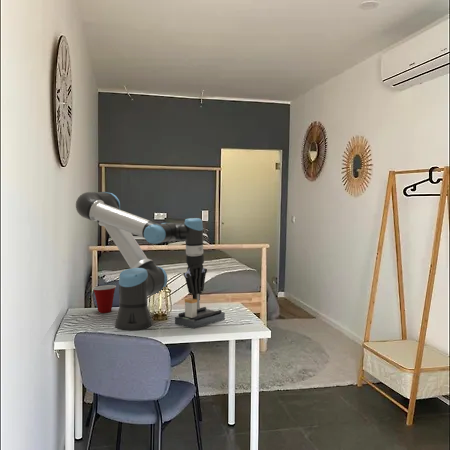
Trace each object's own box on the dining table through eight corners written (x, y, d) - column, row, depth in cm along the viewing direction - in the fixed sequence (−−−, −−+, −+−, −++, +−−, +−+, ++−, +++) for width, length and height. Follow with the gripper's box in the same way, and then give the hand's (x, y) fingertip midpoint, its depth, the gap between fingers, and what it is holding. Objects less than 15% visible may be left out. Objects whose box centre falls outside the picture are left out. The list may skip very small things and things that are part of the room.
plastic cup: (103, 308, 239) (102, 283, 238) (121, 310, 234) (120, 285, 234) (87, 312, 229) (87, 287, 229) (106, 315, 225) (105, 289, 224)
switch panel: (193, 328, 204) (193, 318, 204) (174, 324, 211) (174, 313, 211) (224, 319, 219) (224, 309, 219) (206, 315, 226) (206, 305, 226)
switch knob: (191, 318, 208) (192, 300, 207) (184, 316, 210) (184, 299, 210) (197, 316, 210) (197, 299, 210) (189, 314, 213) (189, 297, 212)
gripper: (191, 257, 204) (193, 313, 206) (211, 253, 213) (212, 306, 216) (178, 256, 208) (180, 310, 211) (198, 251, 218) (199, 303, 221)
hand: (196, 308), depth 213 cm, fingers closed
